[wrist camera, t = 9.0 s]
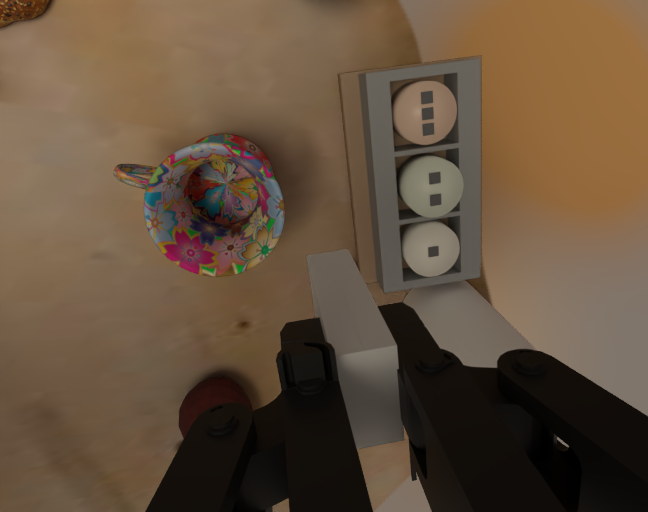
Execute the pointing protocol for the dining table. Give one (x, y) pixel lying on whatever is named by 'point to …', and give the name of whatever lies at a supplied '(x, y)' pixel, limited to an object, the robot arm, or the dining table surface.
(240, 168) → the mug
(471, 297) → the cup
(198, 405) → the potato
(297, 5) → the dining table surface
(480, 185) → the console
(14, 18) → the bagel
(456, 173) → the button
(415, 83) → the button
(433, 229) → the button
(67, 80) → the dining table surface
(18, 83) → the dining table surface
